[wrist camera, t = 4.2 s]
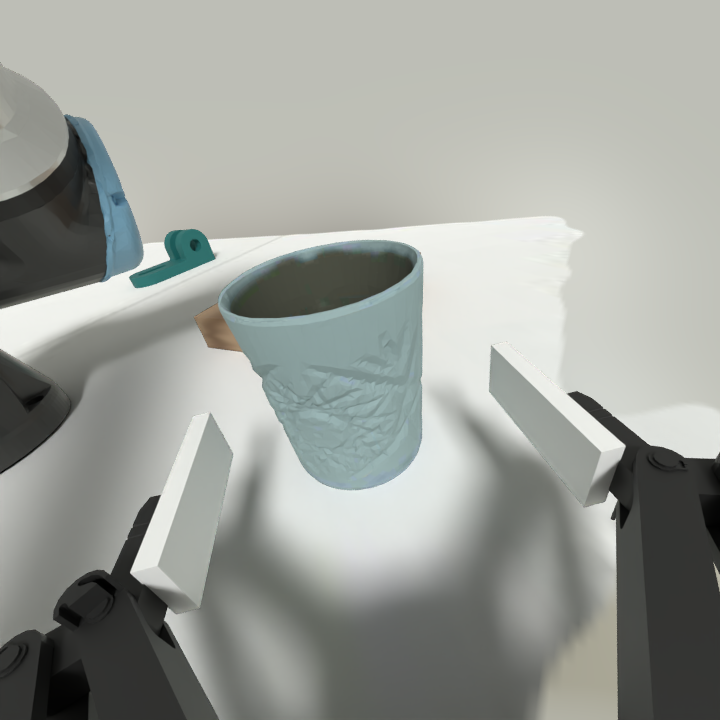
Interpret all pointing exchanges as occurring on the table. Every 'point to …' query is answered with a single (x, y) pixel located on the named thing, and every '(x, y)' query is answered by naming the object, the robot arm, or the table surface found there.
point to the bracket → (177, 257)
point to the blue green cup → (338, 354)
